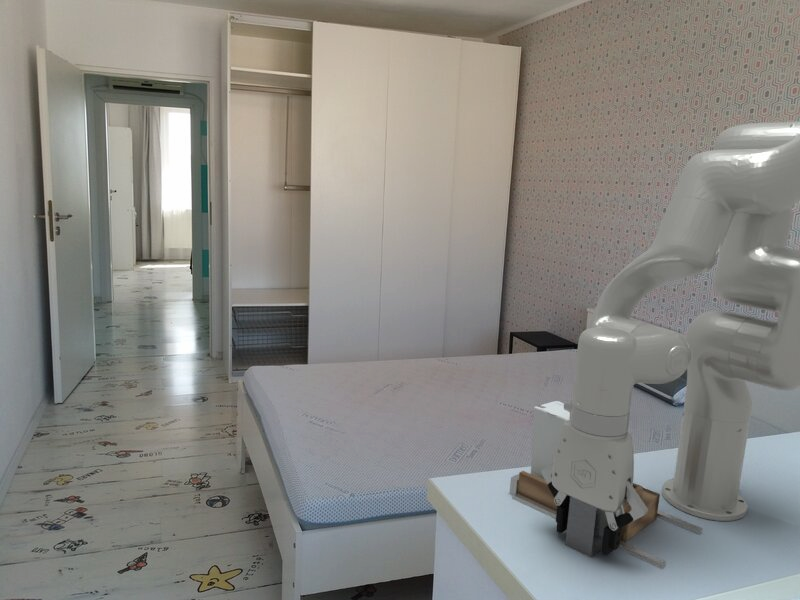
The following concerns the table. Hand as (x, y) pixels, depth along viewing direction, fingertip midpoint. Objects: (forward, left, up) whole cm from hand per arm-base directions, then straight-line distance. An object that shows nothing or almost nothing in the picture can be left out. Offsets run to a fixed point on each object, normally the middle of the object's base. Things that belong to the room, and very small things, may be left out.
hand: (586, 538), depth 89 cm
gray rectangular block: (0, 0, -1) cm, 1 cm away
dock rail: (-10, -3, -1) cm, 11 cm away
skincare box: (-10, -11, -1) cm, 15 cm away
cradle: (-10, -6, -1) cm, 12 cm away
